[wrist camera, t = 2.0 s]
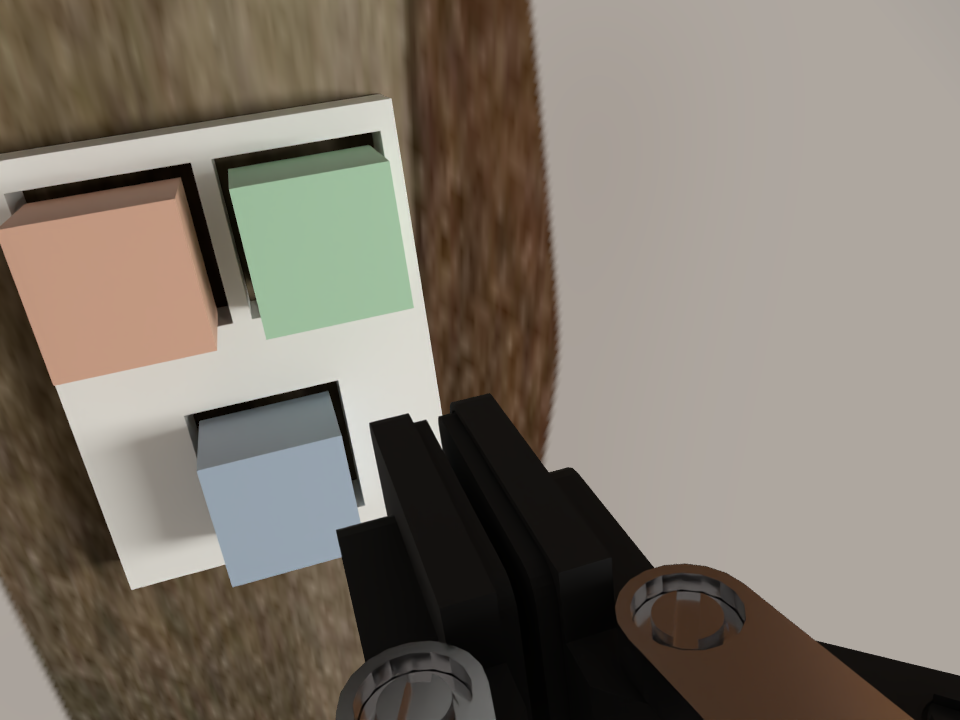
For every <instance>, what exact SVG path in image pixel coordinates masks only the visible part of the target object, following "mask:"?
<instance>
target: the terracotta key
mask: <svg viewBox="0 0 960 720" xmlns="http://www.w3.org/2000/svg"><path fill="white" fill-rule="evenodd" d="M0 244H1V247H2V250H3V252H4V255H5V258H6V260H7V263H8V266H9V268H10V271H11V274H12V276H13V279H14V282H15V284H16V287H17V290H18V292H19V295H20V298H21V300H22V303H23V306H24V308H25V311H26V314H27V316H28V319H29V322H30V324H31V327H32V330H33V332H34V335H35V338H36V340H37V343H38V346H39V348H40V351H41V354H42V356H43V359H44V362H45V364H46V367H47V370H48V372H49V375H50V378H51V380H52V383H53V386H56V385H60V384H65V383H70V382H74V381H79V380H83V379H88V378H93V377H97V376H102V375H107V374H111V373H116V372H120V371H125V370H130V369H134V368H139V367H144V366H148V365H153V364H157V363H162V362H167V361H171V360H176V359H181V358H185V357H190V356H194V355H199V354H204V353H208V352H213V351H217V324H218V312H217V308H216V305H215V301H214V297H213V294H212V290H211V286H210V283H209V279H208V275H207V272H206V268H205V264H204V261H203V257H202V253H201V250H200V246H199V242H198V239H197V235H196V231H195V227H194V224H193V220H192V216H191V213H190V209H189V205H188V202H187V198H186V194H185V191H184V187H183V183H182V180H181V177H179V178H173V179H167V180H161V181H155V182H150V183H144V184H138V185H132V186H126V187H120V188H114V189H109V190H103V191H97V192H91V193H85V194H79V195H74V196H68V197H62V198H56V199H50V200H44V201H38V202H33V203H27V204H24V205H23V206H22V207H21V208H20V209H19V210H18V211H16V212H15V213H14V214H13V215H12V216H11V217H10V218H9V219H8V220H6V221H5V222H4V223H3V224H2V225H1V226H0Z"/></svg>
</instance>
